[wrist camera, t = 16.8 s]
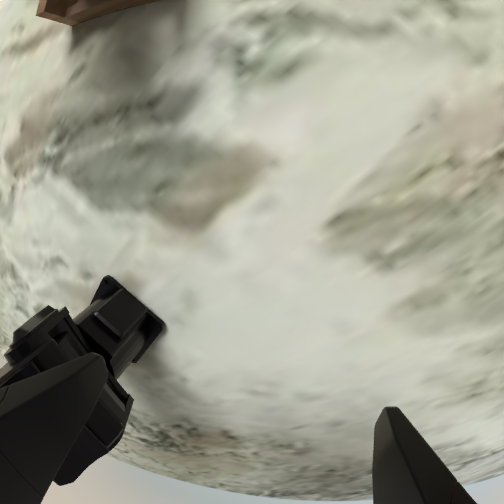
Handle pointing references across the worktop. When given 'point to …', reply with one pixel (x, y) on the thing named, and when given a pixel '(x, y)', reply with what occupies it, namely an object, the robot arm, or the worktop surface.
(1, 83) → the worktop surface
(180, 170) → the worktop surface
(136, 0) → the small wooden crate
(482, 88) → the worktop surface
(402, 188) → the worktop surface
